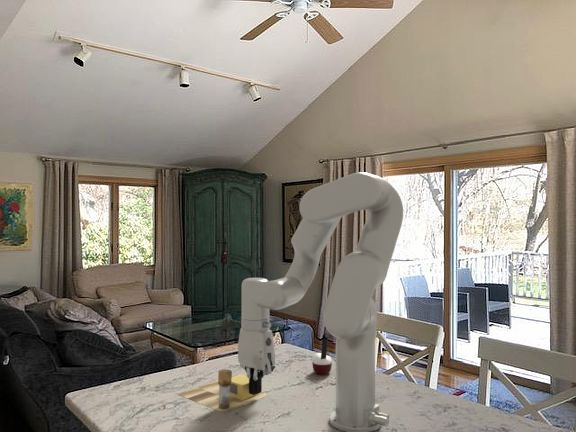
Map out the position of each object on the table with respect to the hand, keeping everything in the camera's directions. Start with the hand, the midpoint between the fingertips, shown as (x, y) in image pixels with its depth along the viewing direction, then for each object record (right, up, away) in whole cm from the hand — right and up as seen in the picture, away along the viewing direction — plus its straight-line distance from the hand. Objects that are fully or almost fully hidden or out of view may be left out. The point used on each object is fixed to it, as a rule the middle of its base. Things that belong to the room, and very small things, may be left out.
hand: (255, 393), depth 125 cm
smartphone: (0, -4, +25) cm, 26 cm away
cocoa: (+20, -3, +25) cm, 32 cm away
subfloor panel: (-9, -3, +3) cm, 10 cm away
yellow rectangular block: (-4, -2, +4) cm, 6 cm away
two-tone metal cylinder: (-8, -2, -5) cm, 9 cm away
